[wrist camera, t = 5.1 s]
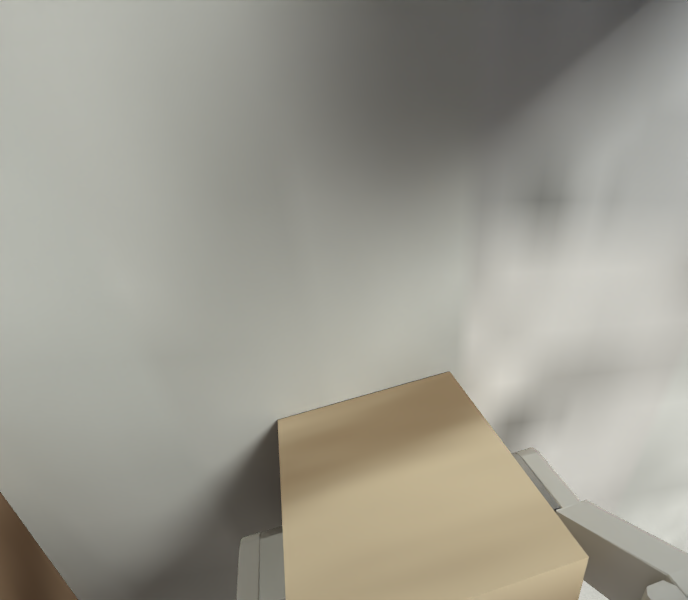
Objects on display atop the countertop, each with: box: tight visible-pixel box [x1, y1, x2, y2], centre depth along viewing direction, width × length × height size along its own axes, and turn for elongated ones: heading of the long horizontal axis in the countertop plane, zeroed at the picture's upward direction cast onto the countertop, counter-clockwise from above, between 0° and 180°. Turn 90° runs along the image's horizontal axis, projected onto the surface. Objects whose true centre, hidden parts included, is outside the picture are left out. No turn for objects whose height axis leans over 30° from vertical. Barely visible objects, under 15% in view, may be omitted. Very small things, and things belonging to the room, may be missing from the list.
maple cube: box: [278, 372, 589, 600], centre depth 9 cm, size 5×5×5 cm
